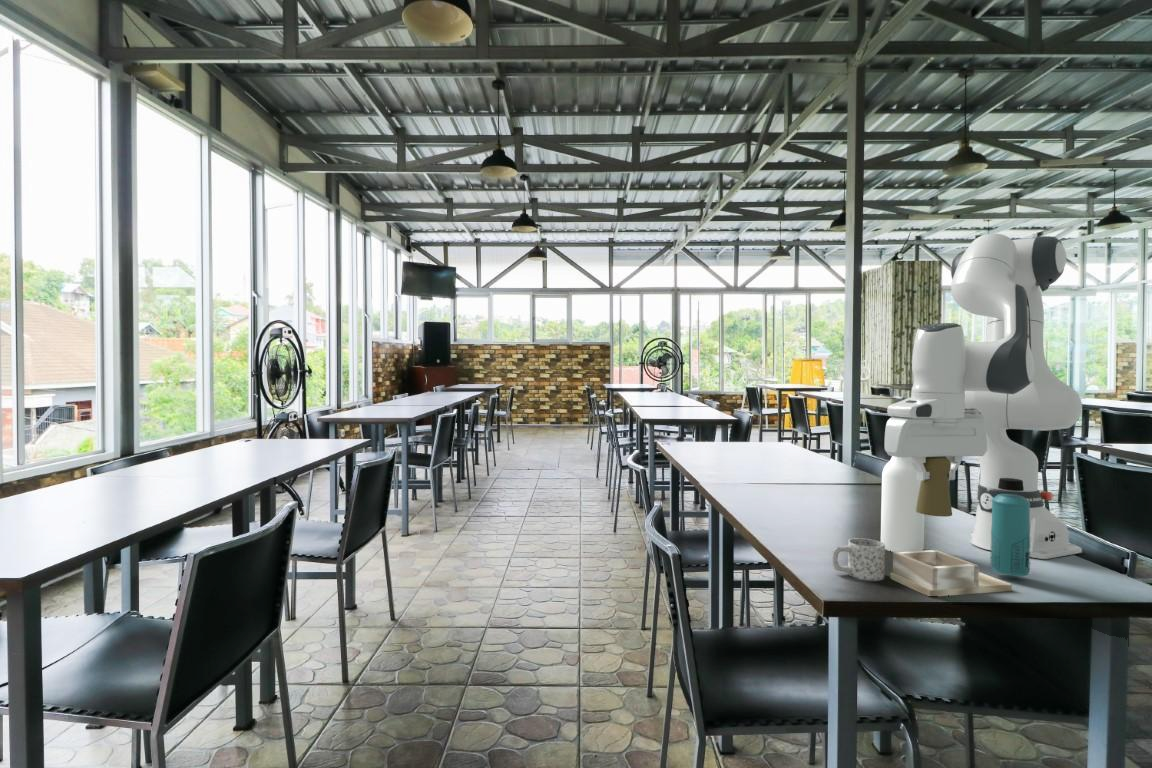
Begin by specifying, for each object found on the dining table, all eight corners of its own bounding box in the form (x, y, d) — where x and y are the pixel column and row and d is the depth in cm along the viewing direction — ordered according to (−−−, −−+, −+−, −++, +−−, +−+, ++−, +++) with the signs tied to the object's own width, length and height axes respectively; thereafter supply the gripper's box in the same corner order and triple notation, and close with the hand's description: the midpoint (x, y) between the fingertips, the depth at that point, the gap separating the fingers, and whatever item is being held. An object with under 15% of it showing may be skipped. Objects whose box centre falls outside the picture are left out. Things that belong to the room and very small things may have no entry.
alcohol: (932, 554, 136) (935, 421, 136) (895, 555, 135) (898, 421, 135) (907, 543, 145) (910, 418, 144) (872, 544, 144) (875, 418, 143)
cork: (957, 517, 112) (958, 458, 112) (921, 515, 114) (922, 456, 114) (945, 510, 118) (947, 454, 118) (911, 508, 120) (913, 453, 120)
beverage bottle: (1031, 586, 116) (1034, 482, 116) (989, 579, 120) (992, 479, 120) (1028, 576, 122) (1030, 477, 122) (988, 570, 126) (990, 474, 125)
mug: (874, 570, 125) (875, 538, 125) (890, 581, 118) (891, 547, 118) (825, 569, 125) (826, 537, 125) (838, 580, 119) (839, 546, 119)
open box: (967, 573, 124) (967, 548, 124) (1011, 590, 114) (1012, 563, 114) (890, 578, 120) (891, 552, 120) (929, 597, 110) (930, 568, 110)
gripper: (969, 407, 121) (967, 476, 121) (879, 406, 117) (878, 478, 117) (997, 408, 115) (995, 481, 115) (903, 408, 111) (902, 484, 111)
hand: (935, 479), depth 116 cm, fingers closed on cork, 4 cm apart
